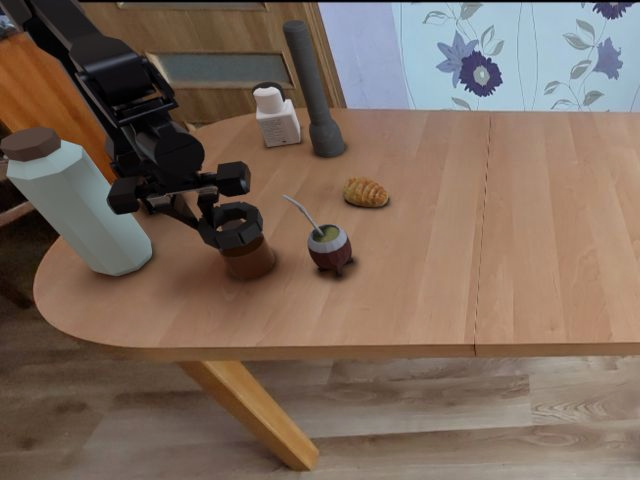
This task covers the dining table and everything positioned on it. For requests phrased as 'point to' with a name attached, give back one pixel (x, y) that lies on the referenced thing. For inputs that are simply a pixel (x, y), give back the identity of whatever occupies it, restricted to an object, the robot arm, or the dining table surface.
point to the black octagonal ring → (232, 236)
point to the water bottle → (75, 200)
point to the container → (275, 115)
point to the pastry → (364, 192)
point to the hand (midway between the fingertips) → (207, 228)
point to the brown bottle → (247, 255)
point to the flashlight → (313, 91)
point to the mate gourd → (327, 244)
